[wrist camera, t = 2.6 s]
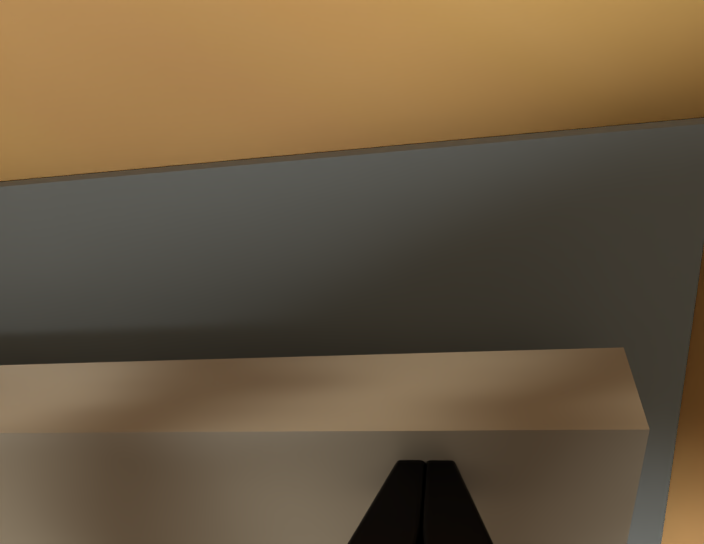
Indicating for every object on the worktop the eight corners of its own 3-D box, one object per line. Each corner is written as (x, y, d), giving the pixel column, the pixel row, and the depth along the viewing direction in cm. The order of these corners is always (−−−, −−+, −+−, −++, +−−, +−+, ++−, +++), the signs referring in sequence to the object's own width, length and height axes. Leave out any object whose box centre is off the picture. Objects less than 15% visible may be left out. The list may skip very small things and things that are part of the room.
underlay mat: (713, 116, 9) (720, 122, 9) (625, 763, 18) (627, 775, 18) (-294, 208, 13) (-310, 214, 13) (44, 711, 22) (39, 721, 21)
